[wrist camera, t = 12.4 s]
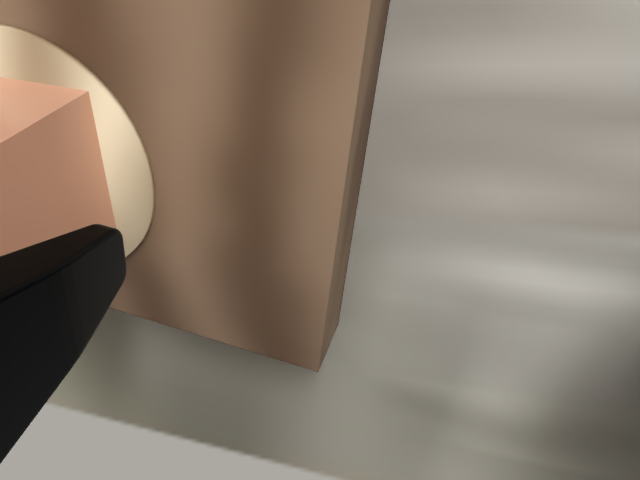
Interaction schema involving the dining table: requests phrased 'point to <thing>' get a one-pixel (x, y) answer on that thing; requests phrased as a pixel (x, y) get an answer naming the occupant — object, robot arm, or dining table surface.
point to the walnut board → (221, 151)
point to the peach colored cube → (48, 164)
